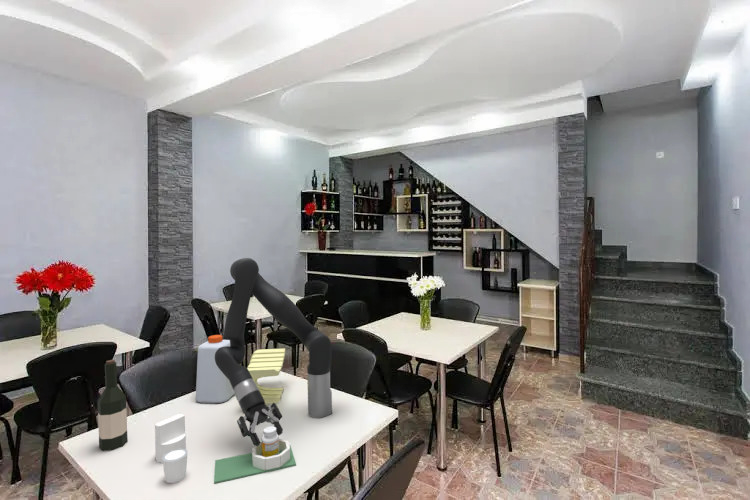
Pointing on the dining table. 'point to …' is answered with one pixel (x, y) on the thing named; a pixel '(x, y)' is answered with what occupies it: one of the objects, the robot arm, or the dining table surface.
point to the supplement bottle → (270, 442)
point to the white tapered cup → (175, 465)
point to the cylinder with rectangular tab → (169, 436)
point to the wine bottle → (112, 412)
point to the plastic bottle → (211, 373)
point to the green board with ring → (253, 463)
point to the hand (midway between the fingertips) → (269, 439)
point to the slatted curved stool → (267, 371)
